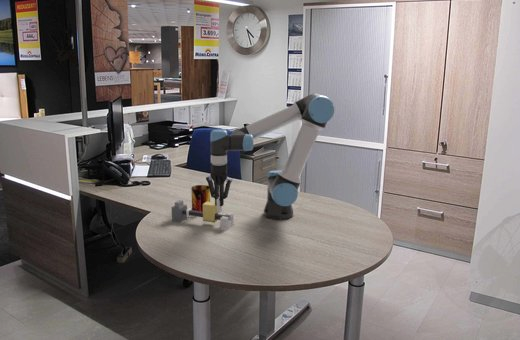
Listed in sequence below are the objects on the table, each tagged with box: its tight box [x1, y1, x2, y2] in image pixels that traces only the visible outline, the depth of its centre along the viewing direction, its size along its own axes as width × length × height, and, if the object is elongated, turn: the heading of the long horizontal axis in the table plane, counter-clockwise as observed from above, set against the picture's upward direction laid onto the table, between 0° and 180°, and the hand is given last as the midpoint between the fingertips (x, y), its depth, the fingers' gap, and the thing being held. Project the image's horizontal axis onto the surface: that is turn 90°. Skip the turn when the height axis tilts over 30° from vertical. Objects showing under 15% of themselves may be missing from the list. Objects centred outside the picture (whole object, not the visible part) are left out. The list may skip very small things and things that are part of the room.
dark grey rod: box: [183, 207, 229, 221], centre depth 217 cm, size 28×4×4 cm, turn 68°
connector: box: [171, 199, 188, 223], centre depth 221 cm, size 5×6×9 cm
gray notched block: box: [219, 212, 235, 232], centre depth 212 cm, size 3×8×6 cm, turn 158°
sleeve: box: [202, 201, 219, 224], centre depth 215 cm, size 6×4×8 cm
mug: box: [190, 184, 211, 212], centre depth 235 cm, size 10×14×12 cm
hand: (219, 212), depth 213 cm, fingers closed
